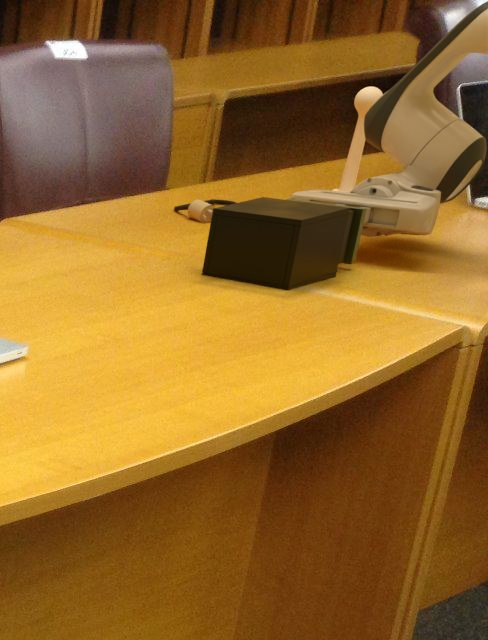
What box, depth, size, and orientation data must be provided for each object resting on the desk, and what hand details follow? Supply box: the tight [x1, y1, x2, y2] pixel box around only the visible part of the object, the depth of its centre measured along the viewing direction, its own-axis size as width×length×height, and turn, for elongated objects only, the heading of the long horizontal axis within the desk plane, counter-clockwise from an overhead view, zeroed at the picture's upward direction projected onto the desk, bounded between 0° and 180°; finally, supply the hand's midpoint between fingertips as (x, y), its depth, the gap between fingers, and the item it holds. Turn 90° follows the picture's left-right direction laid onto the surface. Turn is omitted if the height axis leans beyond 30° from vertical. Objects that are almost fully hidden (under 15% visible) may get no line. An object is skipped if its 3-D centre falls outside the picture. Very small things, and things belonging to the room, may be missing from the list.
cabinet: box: [201, 196, 350, 291], centre depth 214 cm, size 15×13×10 cm
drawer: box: [285, 198, 367, 266], centre depth 220 cm, size 18×11×8 cm, turn 132°
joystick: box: [331, 86, 384, 193], centre depth 263 cm, size 11×8×20 cm
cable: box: [173, 198, 237, 223], centre depth 260 cm, size 16×16×4 cm
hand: (338, 216), depth 225 cm, fingers closed, pressing on drawer
